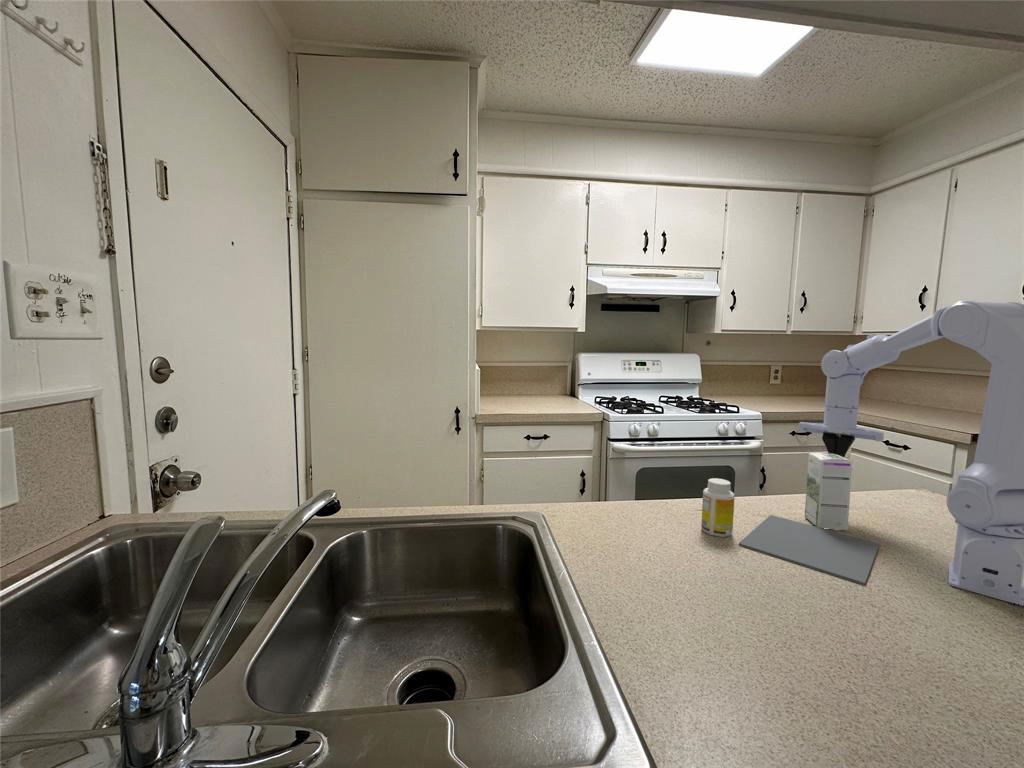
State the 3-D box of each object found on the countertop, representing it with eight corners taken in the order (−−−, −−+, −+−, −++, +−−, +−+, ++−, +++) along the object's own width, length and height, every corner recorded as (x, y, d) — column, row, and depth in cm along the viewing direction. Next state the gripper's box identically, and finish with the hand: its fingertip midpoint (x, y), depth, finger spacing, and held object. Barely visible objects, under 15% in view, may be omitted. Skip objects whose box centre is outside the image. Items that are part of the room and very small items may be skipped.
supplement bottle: (737, 533, 83) (740, 482, 83) (724, 540, 80) (727, 487, 79) (709, 523, 88) (712, 475, 87) (695, 530, 84) (698, 480, 83)
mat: (864, 585, 65) (865, 582, 65) (738, 545, 78) (738, 543, 78) (879, 545, 79) (879, 543, 79) (770, 516, 92) (770, 514, 92)
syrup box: (848, 531, 85) (855, 460, 84) (815, 528, 86) (821, 458, 85) (833, 520, 91) (839, 453, 90) (802, 517, 92) (807, 451, 91)
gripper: (887, 409, 90) (881, 472, 91) (805, 401, 100) (801, 458, 101) (884, 412, 85) (877, 478, 86) (798, 404, 95) (793, 464, 96)
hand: (836, 468), depth 93 cm, fingers closed
